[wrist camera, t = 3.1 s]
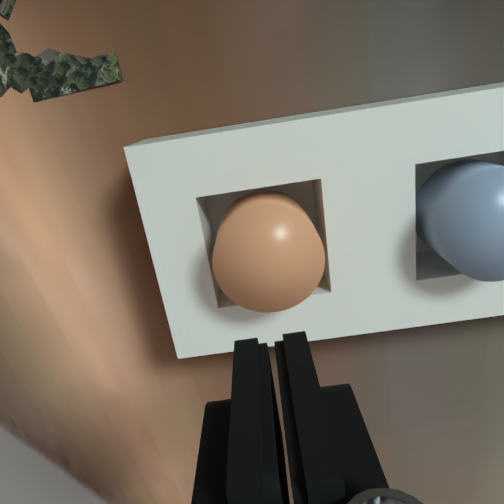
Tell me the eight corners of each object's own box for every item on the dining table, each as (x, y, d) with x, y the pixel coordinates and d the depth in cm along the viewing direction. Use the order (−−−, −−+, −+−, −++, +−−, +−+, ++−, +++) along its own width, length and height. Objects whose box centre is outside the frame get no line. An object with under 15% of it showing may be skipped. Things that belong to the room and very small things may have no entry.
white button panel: (746, 43, 18) (873, 28, 15) (694, 246, 22) (787, 276, 18) (147, 138, 20) (123, 147, 16) (189, 317, 23) (177, 358, 19)
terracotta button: (307, 183, 18) (319, 199, 15) (317, 273, 19) (329, 304, 16) (209, 197, 18) (202, 217, 15) (226, 285, 20) (222, 319, 17)
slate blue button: (513, 151, 17) (569, 162, 14) (506, 246, 19) (555, 273, 16) (411, 167, 18) (445, 180, 15) (413, 259, 19) (443, 289, 16)
